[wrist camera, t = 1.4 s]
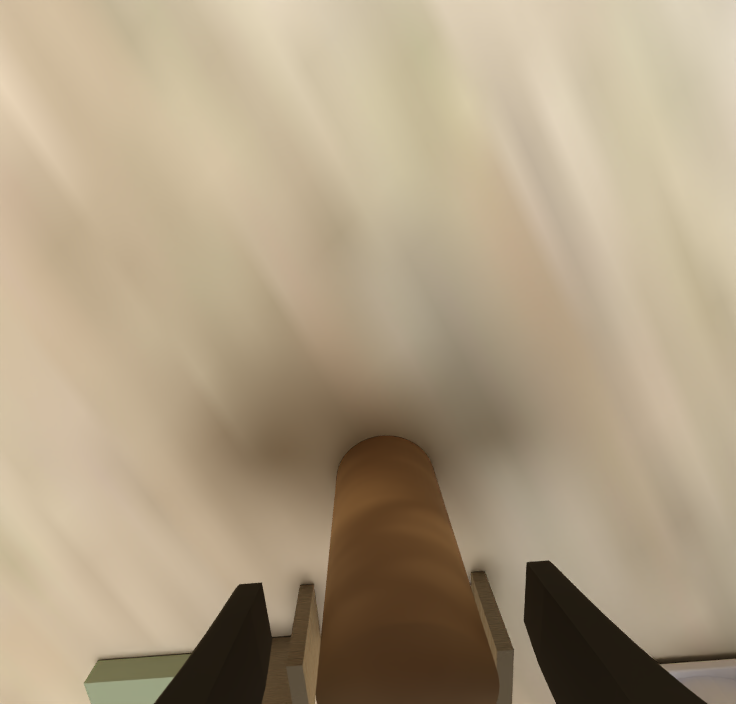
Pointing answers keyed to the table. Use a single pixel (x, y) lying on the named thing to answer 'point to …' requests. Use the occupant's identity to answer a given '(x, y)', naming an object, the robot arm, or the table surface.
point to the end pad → (132, 679)
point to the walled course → (301, 651)
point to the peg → (398, 589)
